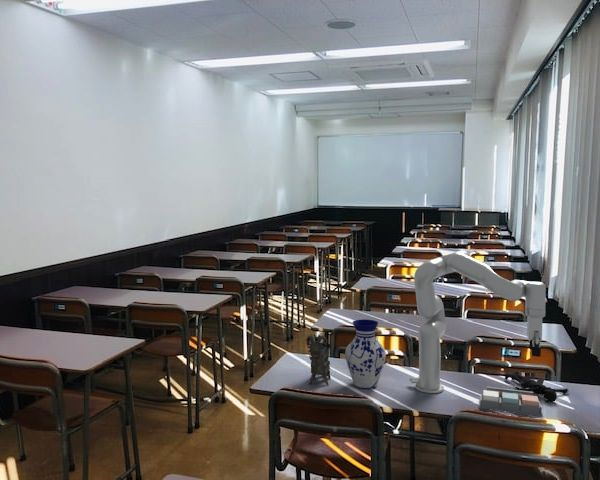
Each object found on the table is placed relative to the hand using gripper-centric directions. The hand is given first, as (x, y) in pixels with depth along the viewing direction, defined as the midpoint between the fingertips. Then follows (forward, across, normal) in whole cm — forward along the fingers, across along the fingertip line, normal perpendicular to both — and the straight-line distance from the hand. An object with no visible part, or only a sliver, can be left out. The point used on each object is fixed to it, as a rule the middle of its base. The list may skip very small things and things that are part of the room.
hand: (534, 352), depth 210 cm
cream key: (+21, +3, -17) cm, 27 cm away
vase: (+22, -5, -72) cm, 76 cm away
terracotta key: (+21, +3, -2) cm, 21 cm away
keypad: (+24, +2, -10) cm, 25 cm away
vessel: (+22, -3, -95) cm, 97 cm away
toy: (+24, -20, 0) cm, 31 cm away
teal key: (+21, +3, -10) cm, 23 cm away
